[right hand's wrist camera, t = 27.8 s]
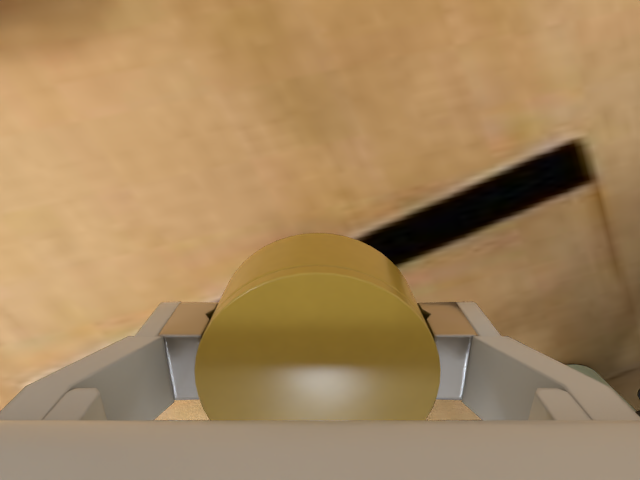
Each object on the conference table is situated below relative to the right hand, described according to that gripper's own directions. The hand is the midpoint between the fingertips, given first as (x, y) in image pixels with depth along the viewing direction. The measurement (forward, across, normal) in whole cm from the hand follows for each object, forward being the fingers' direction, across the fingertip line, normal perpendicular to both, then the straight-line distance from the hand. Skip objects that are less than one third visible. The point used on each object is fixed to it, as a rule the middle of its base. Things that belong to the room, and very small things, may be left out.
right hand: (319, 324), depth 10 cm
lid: (-2, 0, 0) cm, 2 cm away
